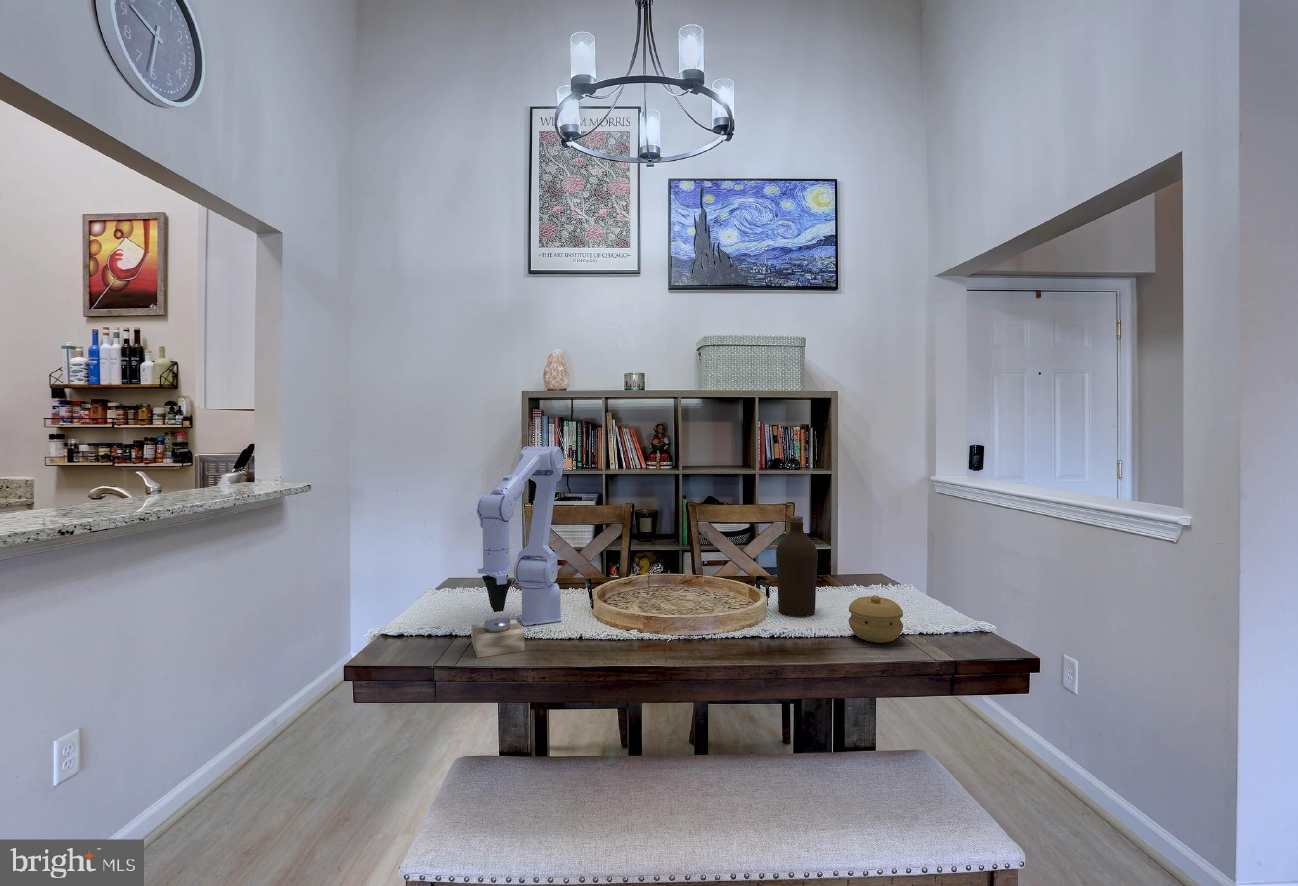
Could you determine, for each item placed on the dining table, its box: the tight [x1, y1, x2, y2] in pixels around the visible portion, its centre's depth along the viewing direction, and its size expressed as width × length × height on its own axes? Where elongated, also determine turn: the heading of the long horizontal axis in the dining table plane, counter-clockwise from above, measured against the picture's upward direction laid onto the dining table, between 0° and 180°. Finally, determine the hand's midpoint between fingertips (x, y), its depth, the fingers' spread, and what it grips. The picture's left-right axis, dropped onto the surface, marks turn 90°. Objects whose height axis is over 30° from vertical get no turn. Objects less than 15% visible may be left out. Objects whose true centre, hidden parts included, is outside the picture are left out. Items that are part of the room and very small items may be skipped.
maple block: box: [471, 618, 526, 658], centre depth 137 cm, size 10×10×4 cm
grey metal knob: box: [483, 617, 511, 633], centre depth 137 cm, size 6×6×5 cm
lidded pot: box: [847, 594, 904, 644], centre depth 140 cm, size 12×12×10 cm
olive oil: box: [775, 515, 819, 618], centre depth 161 cm, size 11×11×25 cm
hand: (497, 609), depth 137 cm, fingers open, 3 cm apart
